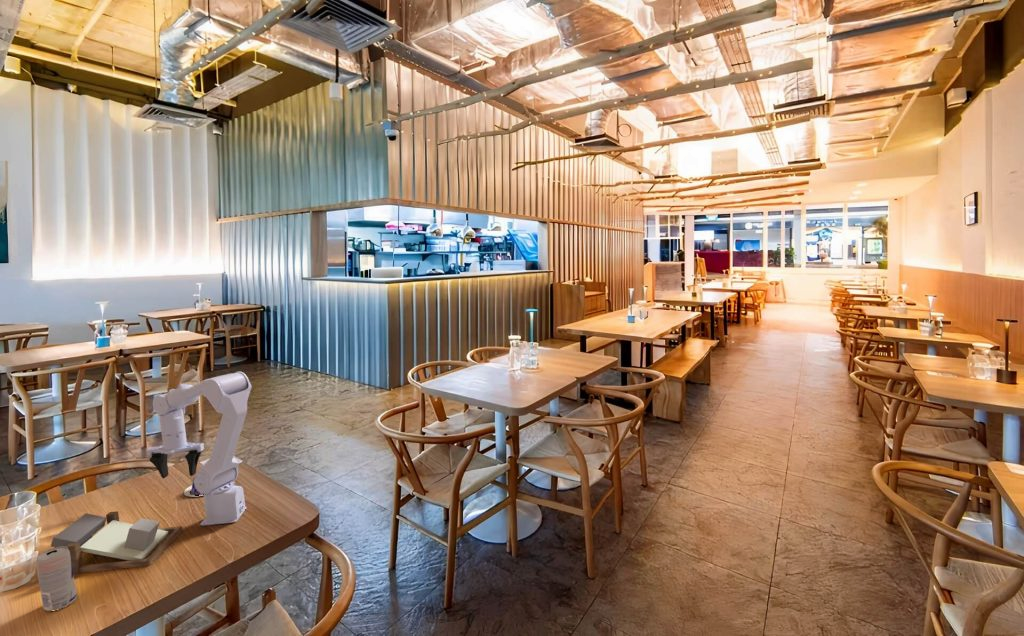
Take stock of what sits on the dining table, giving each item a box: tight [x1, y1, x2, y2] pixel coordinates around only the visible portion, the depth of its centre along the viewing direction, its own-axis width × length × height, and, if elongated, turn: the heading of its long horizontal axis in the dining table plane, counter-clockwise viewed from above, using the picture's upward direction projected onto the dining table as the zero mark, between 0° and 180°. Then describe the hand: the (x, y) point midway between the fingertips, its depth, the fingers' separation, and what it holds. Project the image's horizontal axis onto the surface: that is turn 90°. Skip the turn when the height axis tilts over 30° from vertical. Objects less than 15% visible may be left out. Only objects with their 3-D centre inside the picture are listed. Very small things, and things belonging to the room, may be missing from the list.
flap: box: [50, 513, 169, 561], centre depth 122 cm, size 20×12×2 cm, turn 101°
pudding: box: [183, 476, 204, 498], centre depth 155 cm, size 12×12×5 cm
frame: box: [66, 511, 183, 575], centre depth 122 cm, size 24×16×7 cm
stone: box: [124, 517, 160, 551], centre depth 122 cm, size 5×5×5 cm
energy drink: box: [35, 546, 78, 612], centre depth 104 cm, size 5×5×12 cm
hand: (179, 475), depth 142 cm, fingers open, 7 cm apart
